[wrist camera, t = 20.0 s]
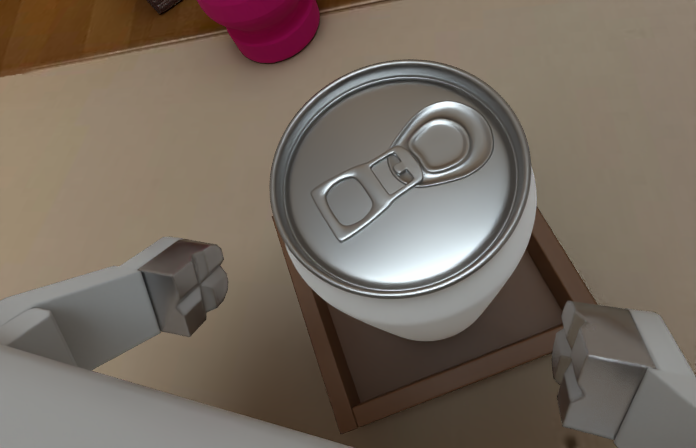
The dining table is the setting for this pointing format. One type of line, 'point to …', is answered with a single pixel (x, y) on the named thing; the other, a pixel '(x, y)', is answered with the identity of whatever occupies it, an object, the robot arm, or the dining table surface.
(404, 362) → the tray
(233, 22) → the pepper mill
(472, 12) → the dining table surface
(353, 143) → the can
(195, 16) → the dining table surface
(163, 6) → the box
